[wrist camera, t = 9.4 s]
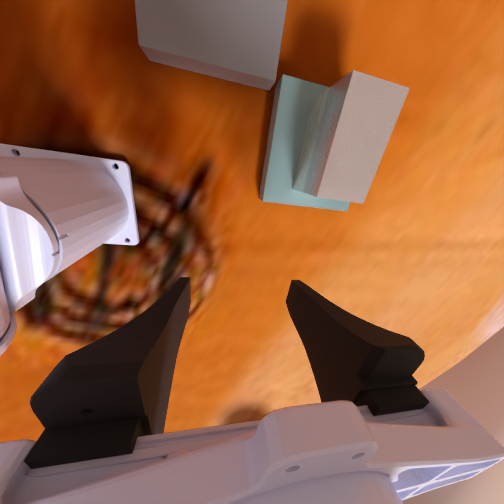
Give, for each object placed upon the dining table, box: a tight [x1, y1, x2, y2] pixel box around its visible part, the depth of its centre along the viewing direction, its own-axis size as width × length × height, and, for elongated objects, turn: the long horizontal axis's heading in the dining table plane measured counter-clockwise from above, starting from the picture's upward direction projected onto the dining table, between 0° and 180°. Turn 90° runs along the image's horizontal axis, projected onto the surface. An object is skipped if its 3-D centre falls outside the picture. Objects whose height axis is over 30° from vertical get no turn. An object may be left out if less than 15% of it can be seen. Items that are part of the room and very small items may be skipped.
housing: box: [292, 70, 410, 204], centre depth 14 cm, size 4×7×5 cm, turn 171°
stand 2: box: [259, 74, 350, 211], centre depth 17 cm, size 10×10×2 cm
